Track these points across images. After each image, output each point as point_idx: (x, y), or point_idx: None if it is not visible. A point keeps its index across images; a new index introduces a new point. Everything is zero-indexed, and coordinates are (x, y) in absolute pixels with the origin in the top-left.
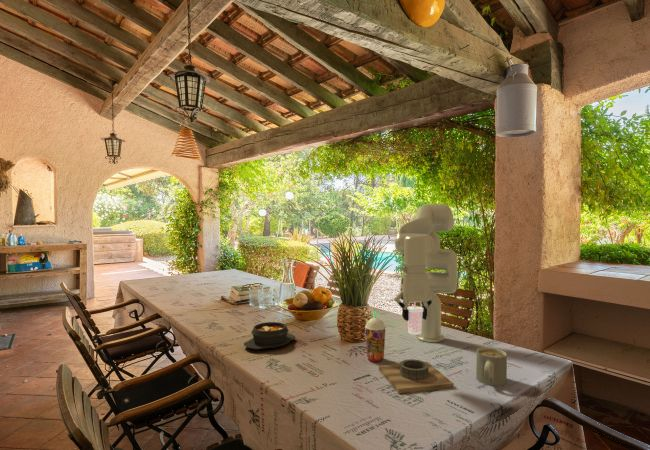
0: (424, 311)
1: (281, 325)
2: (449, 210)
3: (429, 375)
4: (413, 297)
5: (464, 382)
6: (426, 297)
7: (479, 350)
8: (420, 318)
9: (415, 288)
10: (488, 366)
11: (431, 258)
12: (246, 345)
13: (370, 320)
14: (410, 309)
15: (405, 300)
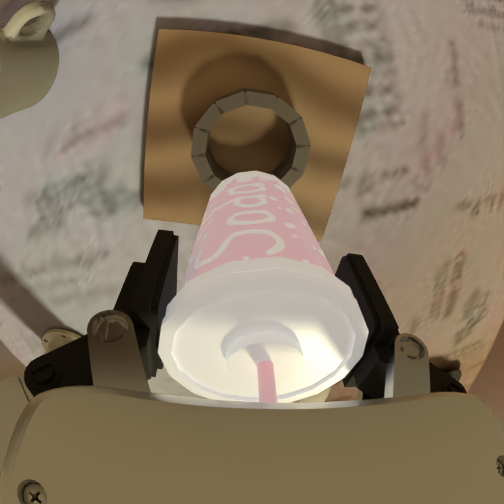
0: (161, 287)
1: None
2: None
3: (201, 110)
4: (417, 473)
5: (103, 59)
6: (95, 463)
7: None
8: (239, 224)
9: None
10: (26, 5)
11: None
12: (458, 380)
13: (322, 401)
14: (340, 339)
15: (489, 408)
